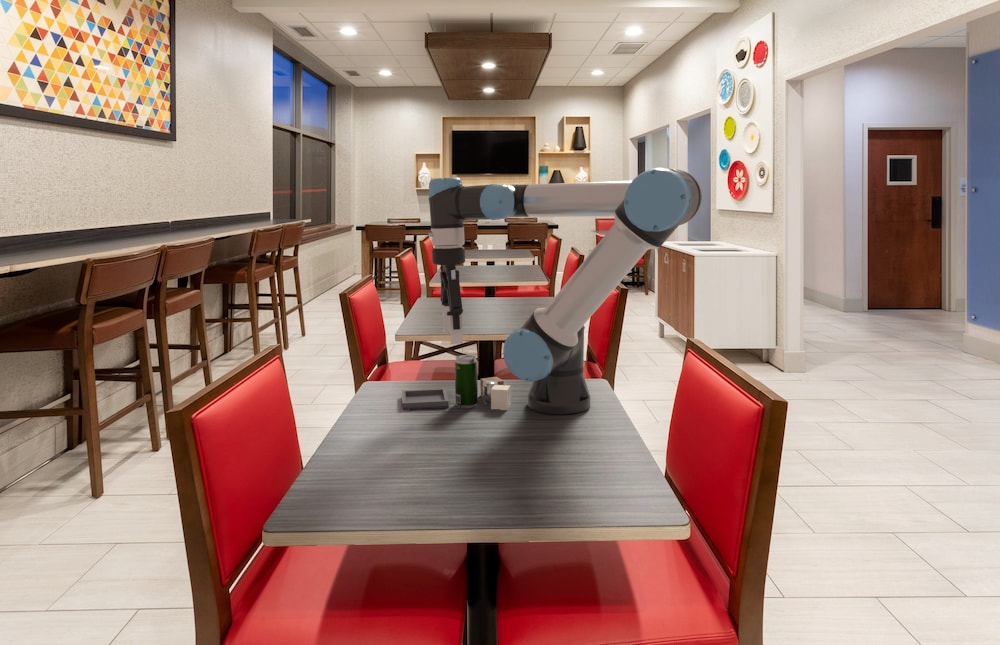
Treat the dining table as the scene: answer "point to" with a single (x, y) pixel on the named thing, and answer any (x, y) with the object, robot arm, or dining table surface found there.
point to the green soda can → (466, 381)
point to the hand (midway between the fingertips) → (452, 337)
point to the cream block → (501, 397)
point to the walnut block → (500, 382)
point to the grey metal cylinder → (488, 390)
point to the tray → (424, 399)
